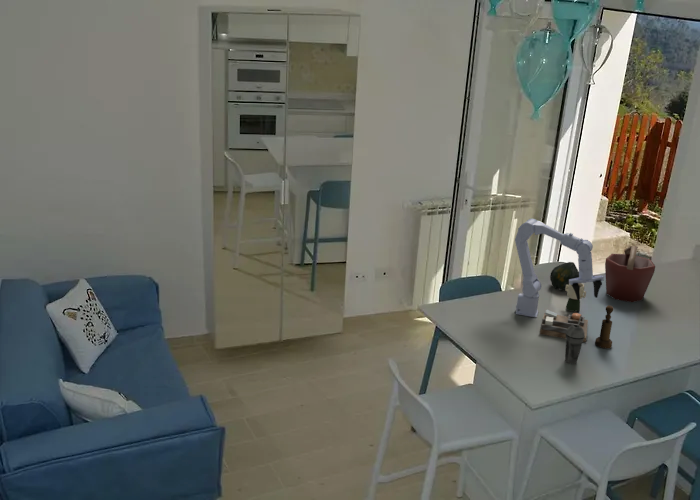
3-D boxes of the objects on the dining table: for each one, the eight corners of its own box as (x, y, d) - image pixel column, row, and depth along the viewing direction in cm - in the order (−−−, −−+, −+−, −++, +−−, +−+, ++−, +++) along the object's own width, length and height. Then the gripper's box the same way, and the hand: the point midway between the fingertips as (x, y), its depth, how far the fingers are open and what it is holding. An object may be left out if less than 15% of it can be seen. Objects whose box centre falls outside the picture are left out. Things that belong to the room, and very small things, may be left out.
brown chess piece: (611, 343, 292) (618, 304, 286) (611, 350, 286) (618, 310, 280) (594, 340, 294) (601, 301, 288) (594, 347, 288) (601, 307, 282)
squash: (540, 275, 352) (560, 260, 342) (555, 270, 362) (576, 255, 352) (555, 299, 347) (577, 284, 337) (570, 293, 357) (592, 278, 347)
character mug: (587, 312, 323) (591, 286, 319) (578, 315, 319) (582, 289, 314) (567, 304, 331) (571, 279, 327) (558, 307, 327) (562, 282, 322)
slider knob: (544, 327, 299) (545, 320, 297) (545, 323, 303) (546, 316, 302) (551, 329, 298) (552, 321, 296) (552, 324, 302) (553, 317, 301)
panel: (539, 333, 298) (541, 325, 297) (543, 316, 316) (545, 308, 315) (585, 342, 292) (587, 333, 291) (587, 324, 310) (588, 315, 309)
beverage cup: (558, 357, 278) (565, 311, 272) (576, 357, 279) (583, 311, 272) (565, 365, 271) (572, 319, 265) (583, 365, 272) (591, 319, 265)
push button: (571, 318, 306) (572, 315, 305) (572, 315, 309) (572, 312, 309) (580, 320, 304) (581, 317, 304) (581, 317, 308) (581, 313, 307)
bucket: (610, 283, 361) (618, 238, 353) (654, 294, 348) (663, 247, 341) (595, 297, 342) (603, 249, 334) (642, 309, 330) (651, 259, 322)
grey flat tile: (544, 314, 310) (545, 312, 310) (545, 311, 313) (546, 309, 313) (555, 318, 309) (556, 316, 308) (556, 315, 312) (557, 313, 312)
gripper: (571, 272, 297) (573, 302, 300) (605, 268, 296) (606, 298, 299) (566, 268, 303) (568, 298, 306) (599, 264, 303) (601, 294, 306)
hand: (587, 298), depth 303 cm, fingers open, 7 cm apart
